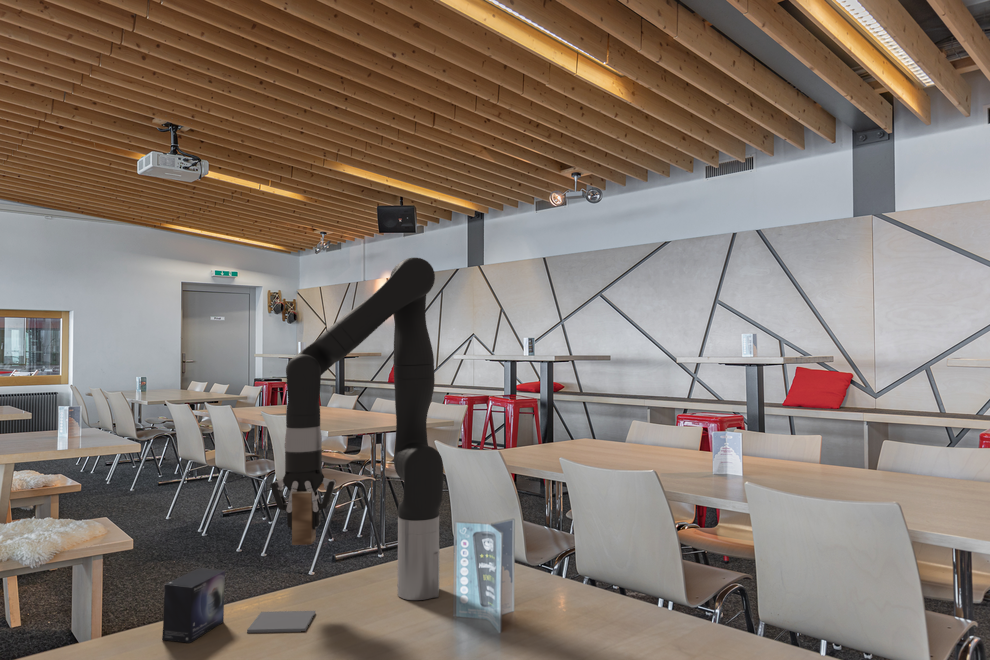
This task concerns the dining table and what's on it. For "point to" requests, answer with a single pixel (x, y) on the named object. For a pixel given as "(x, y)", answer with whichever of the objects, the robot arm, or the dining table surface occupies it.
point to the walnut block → (302, 518)
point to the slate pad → (281, 621)
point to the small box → (193, 604)
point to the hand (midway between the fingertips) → (303, 528)
